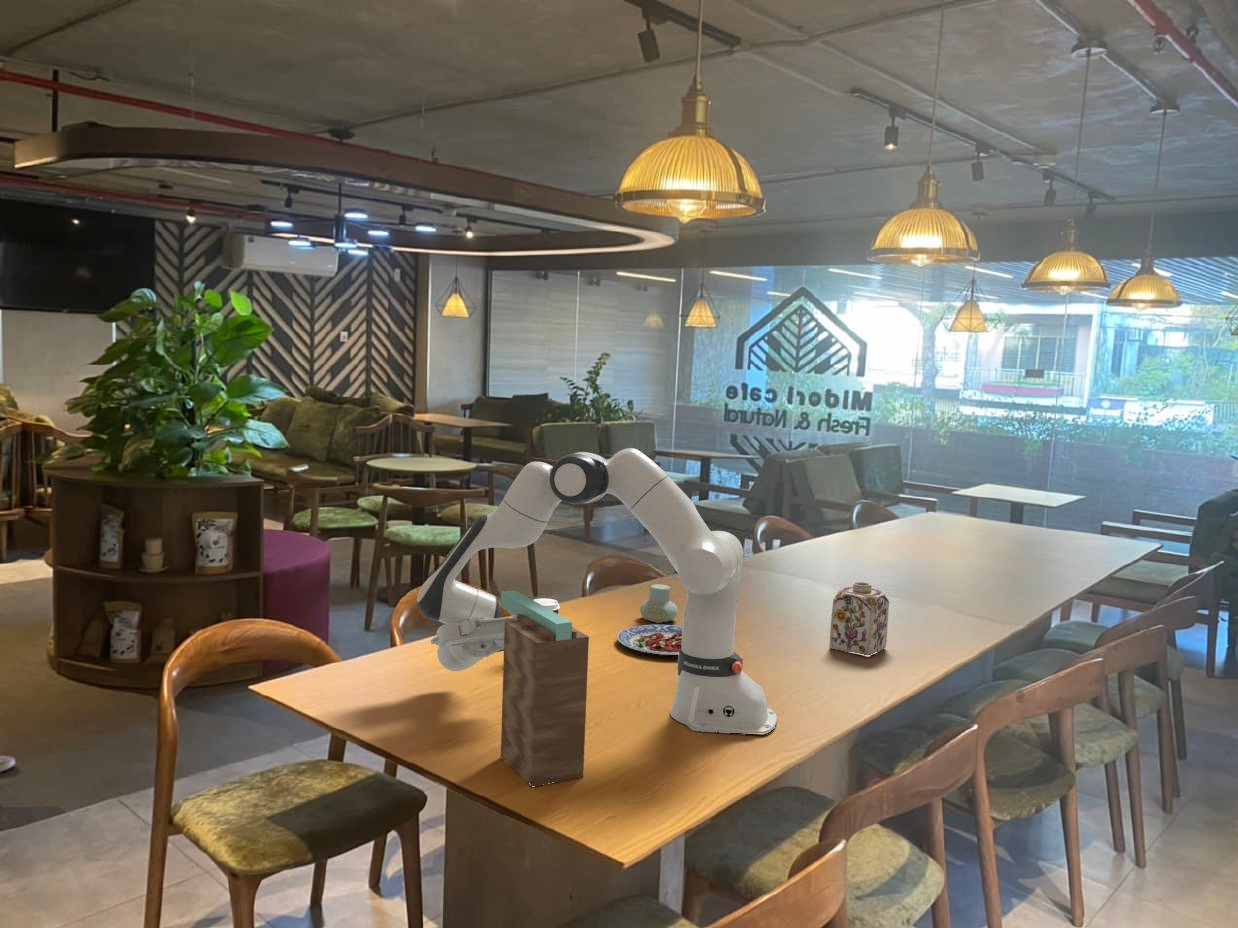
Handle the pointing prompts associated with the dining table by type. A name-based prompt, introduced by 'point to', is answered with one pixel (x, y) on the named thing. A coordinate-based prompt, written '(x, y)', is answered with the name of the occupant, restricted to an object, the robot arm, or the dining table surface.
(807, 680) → the dining table surface
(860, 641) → the decorative jar
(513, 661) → the walnut stand
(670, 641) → the ceramic plate
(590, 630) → the dining table surface
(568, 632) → the teal rod
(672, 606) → the air freshener
